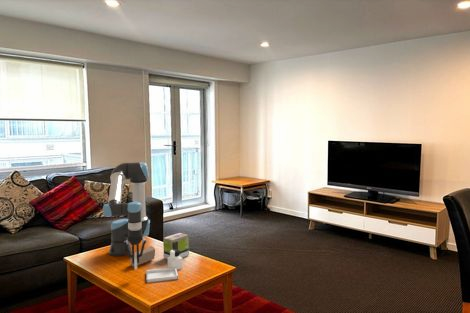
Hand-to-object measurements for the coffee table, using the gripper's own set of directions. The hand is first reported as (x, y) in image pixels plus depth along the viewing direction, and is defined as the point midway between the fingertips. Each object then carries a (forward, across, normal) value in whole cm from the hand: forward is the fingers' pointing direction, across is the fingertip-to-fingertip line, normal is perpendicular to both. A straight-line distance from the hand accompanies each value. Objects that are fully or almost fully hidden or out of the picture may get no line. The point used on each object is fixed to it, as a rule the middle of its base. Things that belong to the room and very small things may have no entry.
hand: (135, 268), depth 201 cm
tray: (+6, +15, 0) cm, 16 cm away
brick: (+7, +4, +24) cm, 25 cm away
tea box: (+7, +26, +30) cm, 41 cm away
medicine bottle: (+7, +24, +11) cm, 27 cm away
